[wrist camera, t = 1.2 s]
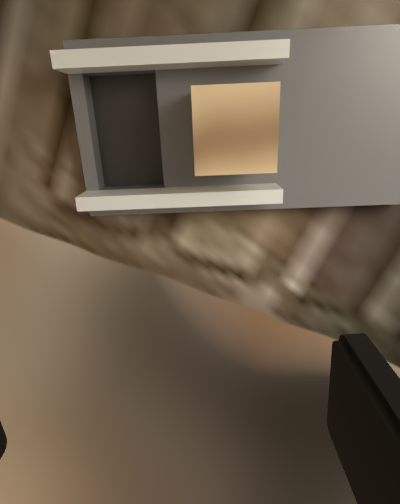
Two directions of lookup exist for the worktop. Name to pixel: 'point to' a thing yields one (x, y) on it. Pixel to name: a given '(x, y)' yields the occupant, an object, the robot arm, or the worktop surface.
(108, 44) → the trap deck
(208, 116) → the maple block
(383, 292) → the worktop surface
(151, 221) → the worktop surface
